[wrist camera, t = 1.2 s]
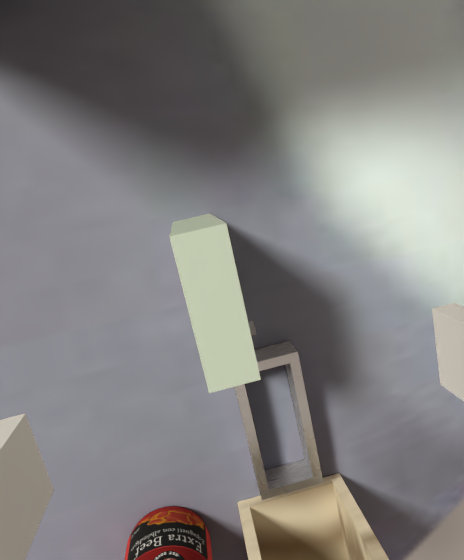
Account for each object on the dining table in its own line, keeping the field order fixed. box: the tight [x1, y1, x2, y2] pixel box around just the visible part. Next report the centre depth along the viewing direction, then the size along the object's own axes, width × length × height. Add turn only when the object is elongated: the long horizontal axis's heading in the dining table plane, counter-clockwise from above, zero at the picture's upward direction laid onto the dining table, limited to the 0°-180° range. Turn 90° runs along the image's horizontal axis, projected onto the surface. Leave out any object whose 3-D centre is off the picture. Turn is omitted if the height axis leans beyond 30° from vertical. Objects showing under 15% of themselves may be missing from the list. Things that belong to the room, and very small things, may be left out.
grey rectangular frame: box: [234, 341, 323, 500], centre depth 36 cm, size 13×6×3 cm, turn 12°
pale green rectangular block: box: [170, 214, 261, 393], centre depth 28 cm, size 9×4×12 cm, turn 12°
